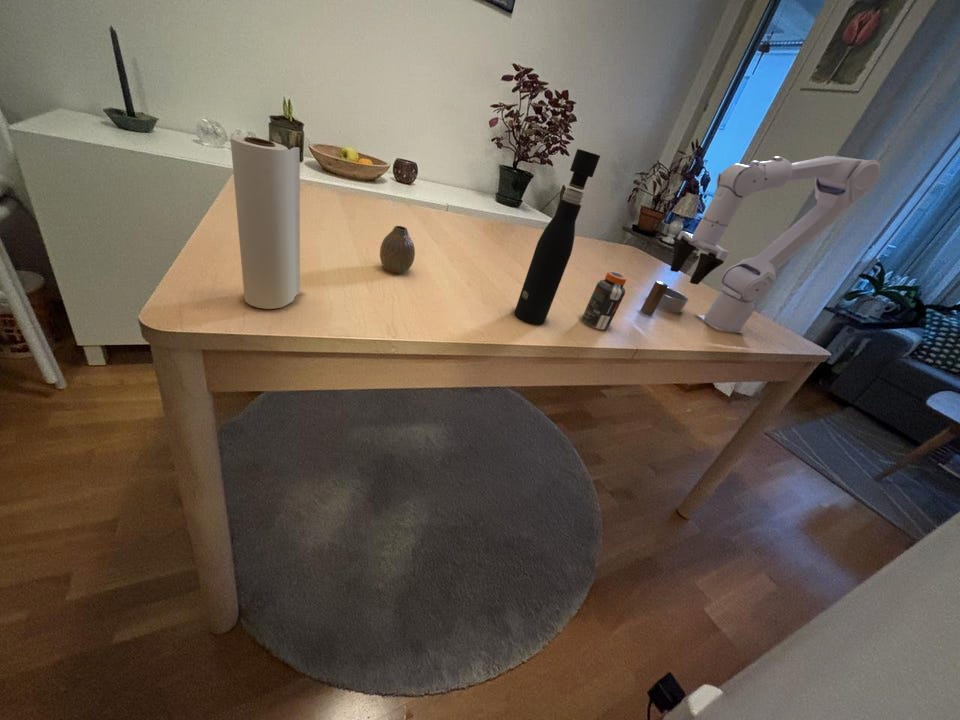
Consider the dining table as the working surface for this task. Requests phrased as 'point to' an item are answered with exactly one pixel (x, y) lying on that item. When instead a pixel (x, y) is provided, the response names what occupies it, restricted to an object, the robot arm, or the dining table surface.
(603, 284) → the pill bottle
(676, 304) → the tin
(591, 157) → the black water bottle
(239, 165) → the paper towel roll
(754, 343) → the dining table surface
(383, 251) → the vase
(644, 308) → the stick
